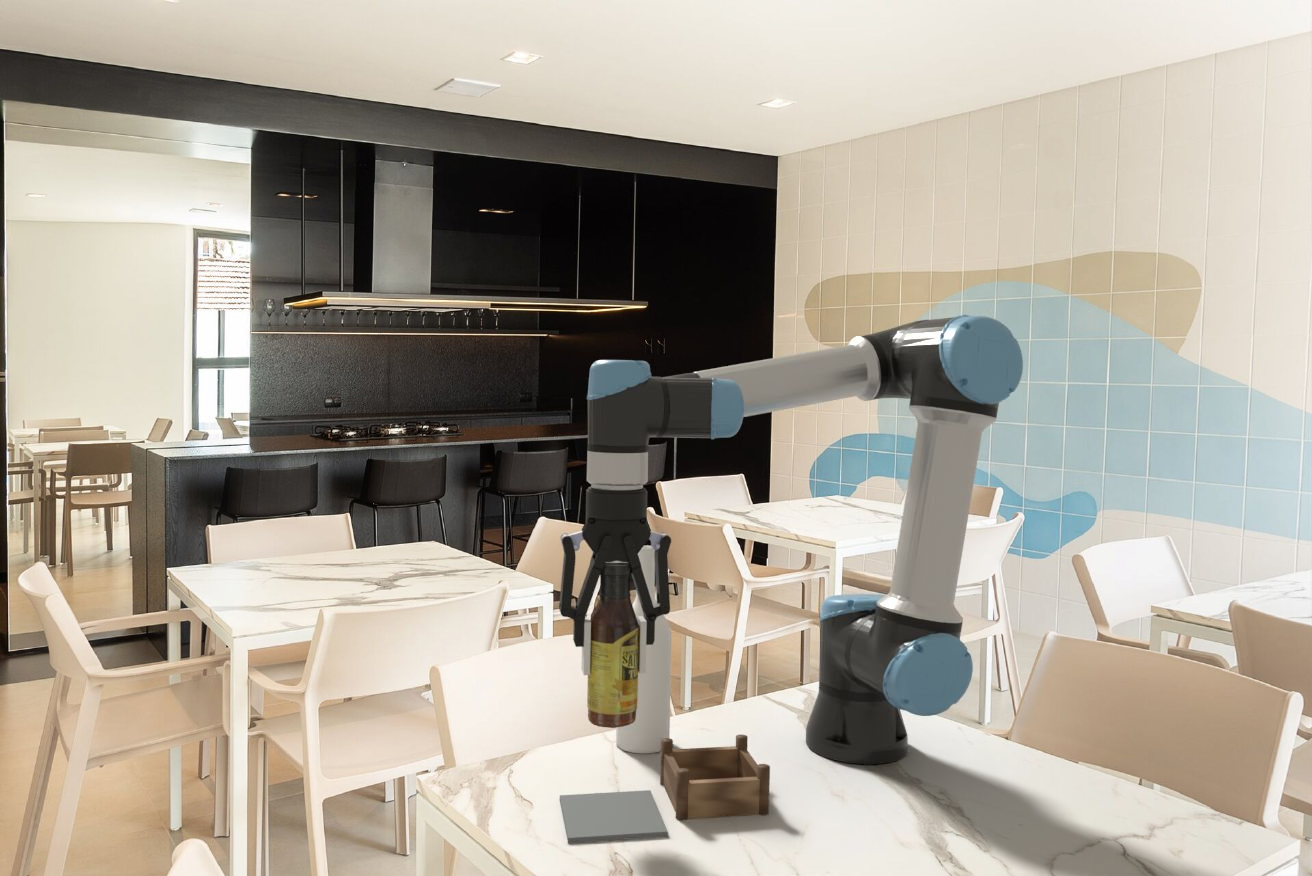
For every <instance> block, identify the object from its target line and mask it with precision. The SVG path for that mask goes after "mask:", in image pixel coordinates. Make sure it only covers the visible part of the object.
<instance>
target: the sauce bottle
mask: <svg viewBox="0 0 1312 876" xmlns="http://www.w3.org/2000/svg"><path fill="white" fill-rule="evenodd" d="M631 576H632V571H631V567H630V564H629V563H628V562H621V561H613V562H605V564H604V567H603V569H602V571H601V573H600V576H599V579H600V580H599V581H600V582H599V585H600V586H599V592H598V593H599V595H598V596H599V600H598V602H597V604H596V605H595V606H594V608H593V610H592V612H591V614H590V618H589V620H590V622H591V643H590V675H587V698H586V699H587V704H586V706H587V709H588V710H587V718H588V721H589V722H590V723H591V724H592V725H593V726H597V727H600V728H609V729H616V728H617V727H623V726H627V725H630V724H632V723H633V722H634V721H635V718H636V710H637V698H638V660H639V624H638V621H637V618H636V615H635V612H634V609H633V606H632V605H633V603H632V600H631V599H632V598H631V591H630V590H631V585H630V584H631Z"/></svg>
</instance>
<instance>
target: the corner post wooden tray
mask: <svg viewBox="0 0 1312 876" xmlns="http://www.w3.org/2000/svg"><path fill="white" fill-rule="evenodd" d="M673 745H674V741H673V739H672V738H670V737H669V738H663V739H661V751H660V768H659V769H660V771H659V773H660V774H659V775H660V776H659V777H660V779H659V781H660V782H659V784H660V785H661V786H663V789H664V790H665V792H666V794H667V797H668V799H669V801H670V803H671V806H672V807H673V809H674V812H675V819H676V820H678V821H686V820H689V819H690V820H691V819H707V818H709V819H710V818H724V817H737V816H741V817H742V816H753V815H755V816H756V815H759V816H767V815H769V812H770V785H771V783H770V780H771V779H770V778H771V766H770V764H766V763H759V764H758V763H757V762H756V760H755V759H754V757H753V756H752V754H750V752H749V750H748V735H745V734H736V735H735V745H734V746H733V745H731V746H714V747H712V746H711V747H695V748H694V747H693V748H690V747H689V748H674V747H673Z"/></svg>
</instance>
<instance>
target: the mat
mask: <svg viewBox="0 0 1312 876" xmlns="http://www.w3.org/2000/svg"><path fill="white" fill-rule="evenodd" d="M559 805H560V808H561V813H562V814H561V815H562V818H563V819H562V820H563V825H564V830H565V834H566V839H567V843H568V844H569V843H571V844H572V843H587V842H602V841H603V842H604V841H614V840H615V841H616V840H631V839H648V838H650V839H651V838H663V837H668V835H669V834H668V833H669V830H668V828H667V826H666V824H665V821H664V819H663V816H662V815H661V812H660V810H659V808H658V805H657V803H656V800H655V798H654V796H653V793H652V791H651V790H649V789H648V790H647V789H646V790H628V791H615V792H614V791H612V792H596V793H595V792H594V793H580V794H579V793H577V794H561V795H560V794H559Z"/></svg>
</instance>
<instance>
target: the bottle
mask: <svg viewBox="0 0 1312 876" xmlns="http://www.w3.org/2000/svg"><path fill="white" fill-rule="evenodd" d="M654 552H655V550H654V549H653V548H652V547H651V545H644V546H643V547H642V549H641V550H640V551H639V553H638V556H639V560H640V563H641V568H642V571H643V574H644V578H645V581H646V584H647V587H648V591H649V594H650V597H651V600H652V604H653V605H654V604H657V599H656V594H655V592H656V591H655V590H656V576H655V558H654ZM632 606H633V609H634V612H635V615H636V618H637V616H643V617H644V613H643V610H642V607H641V604H640V600H639V597H638V594H637V591H636V590H635V599H634V601H633V603H632ZM672 640H673V639H672V628H671V626H670V624H669V621H668V620H667V618H666V616H665V615H664V614H663V615H661V616H658V617H657V618H656V620H655V641H654V643H653V645H646V673H639V671H638V698H637V710H636V718H635V721H634V722H633V723H632V724H630V725H627V726H623V727H617V728H615V744H616V746H617V747H618V748H619V749H621V750H623V751H626V752H628V753H634V754H643V755H644V754H654V753H658V752H661V739H663V738H670V733H671V732H670V730H671V727H670V726H671V689H672V688H671V685H672V684H671V680H672V678H671V677H672Z"/></svg>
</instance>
